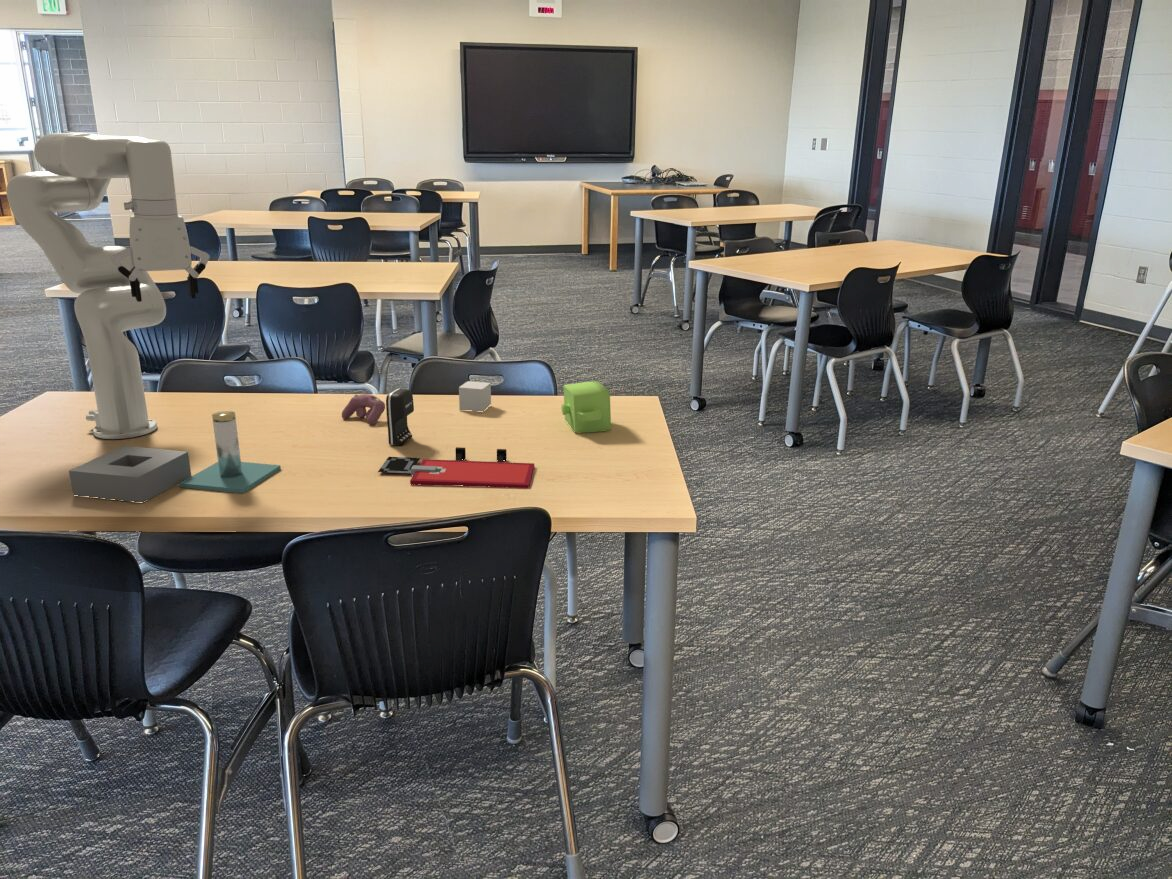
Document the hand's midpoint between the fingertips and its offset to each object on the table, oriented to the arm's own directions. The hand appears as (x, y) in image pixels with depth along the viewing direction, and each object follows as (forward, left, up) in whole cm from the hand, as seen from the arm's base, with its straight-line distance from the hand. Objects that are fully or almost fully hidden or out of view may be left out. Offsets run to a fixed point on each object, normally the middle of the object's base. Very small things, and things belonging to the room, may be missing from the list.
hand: (166, 298), depth 170 cm
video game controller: (+25, +30, -32) cm, 51 cm away
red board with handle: (+58, +3, -33) cm, 66 cm away
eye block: (+2, -19, -32) cm, 37 cm away
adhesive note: (+47, +45, -32) cm, 73 cm away
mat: (+17, -11, -32) cm, 38 cm away
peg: (+17, -11, -31) cm, 37 cm away
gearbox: (+75, +38, -32) cm, 91 cm away
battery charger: (+40, +17, -32) cm, 54 cm away
